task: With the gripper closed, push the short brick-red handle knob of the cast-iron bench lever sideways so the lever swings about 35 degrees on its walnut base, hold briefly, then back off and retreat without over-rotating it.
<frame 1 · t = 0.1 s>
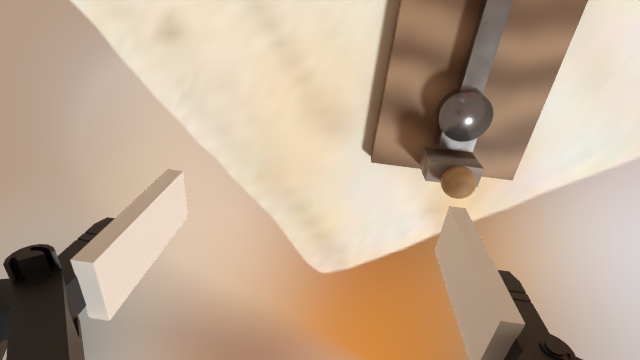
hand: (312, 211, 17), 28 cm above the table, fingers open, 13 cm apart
lever: (487, 63, 34), point 5 cm above the table, hinge at 0.0°
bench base: (469, 64, 39), on the table
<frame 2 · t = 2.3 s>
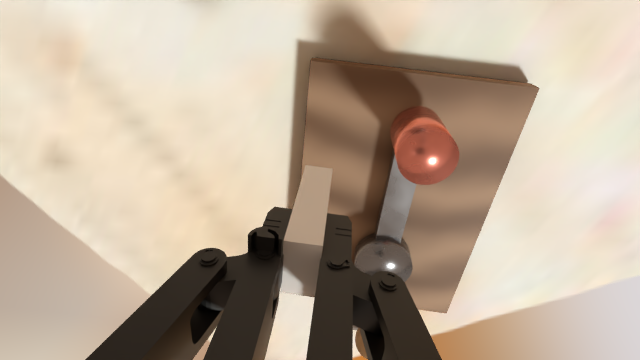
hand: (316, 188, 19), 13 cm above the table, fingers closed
lever: (397, 225, 30), point 5 cm above the table, hinge at 0.0°
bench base: (389, 201, 35), on the table
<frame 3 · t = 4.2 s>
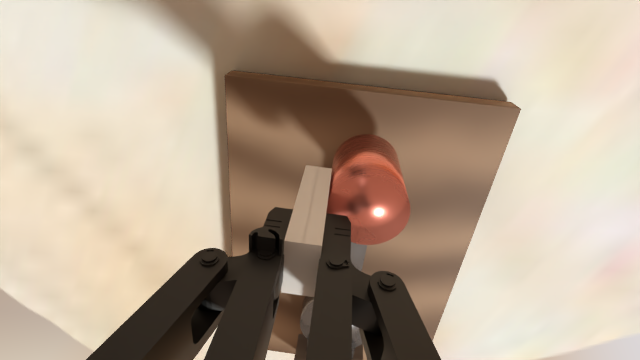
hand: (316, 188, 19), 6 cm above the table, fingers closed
lever: (345, 281, 23), point 5 cm above the table, hinge at 1.1°, touching gripper
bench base: (344, 243, 28), on the table
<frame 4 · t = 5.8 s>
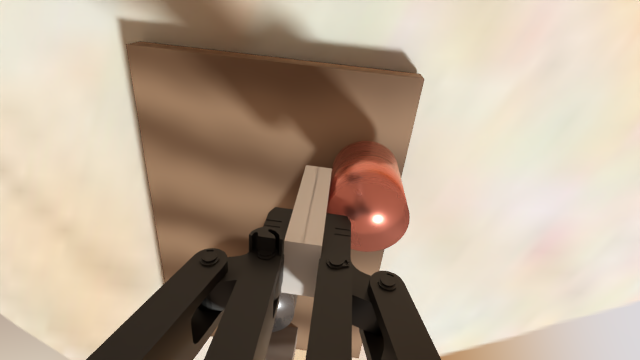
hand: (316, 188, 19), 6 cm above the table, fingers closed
lever: (295, 270, 23), point 5 cm above the table, hinge at 26.9°, touching gripper
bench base: (272, 224, 28), on the table
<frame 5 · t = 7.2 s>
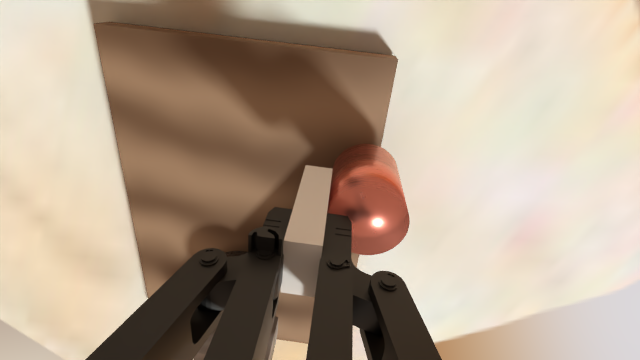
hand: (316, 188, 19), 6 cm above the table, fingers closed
lever: (280, 263, 23), point 5 cm above the table, hinge at 35.3°, touching gripper
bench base: (250, 212, 28), on the table
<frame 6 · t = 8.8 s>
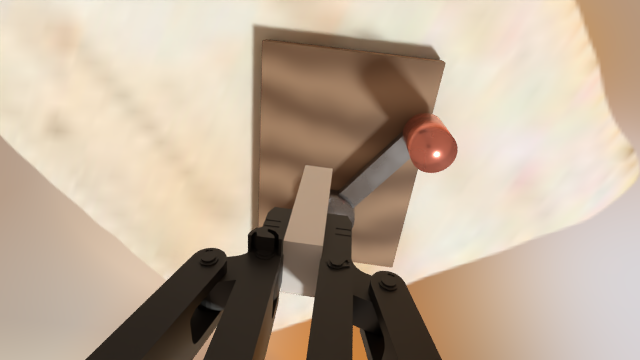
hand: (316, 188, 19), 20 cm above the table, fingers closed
lever: (367, 191, 36), point 5 cm above the table, hinge at 35.3°
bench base: (337, 165, 41), on the table
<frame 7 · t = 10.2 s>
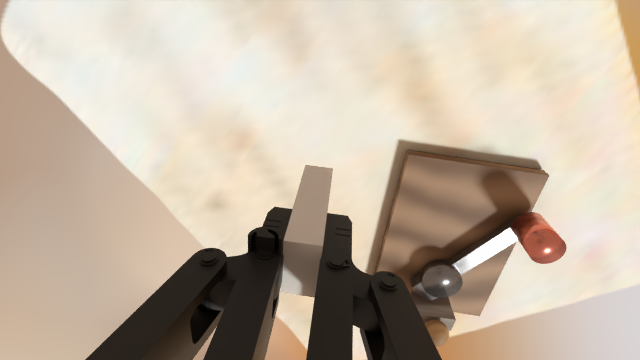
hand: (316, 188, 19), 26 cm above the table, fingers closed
lever: (480, 266, 47), point 5 cm above the table, hinge at 35.3°
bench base: (445, 238, 51), on the table
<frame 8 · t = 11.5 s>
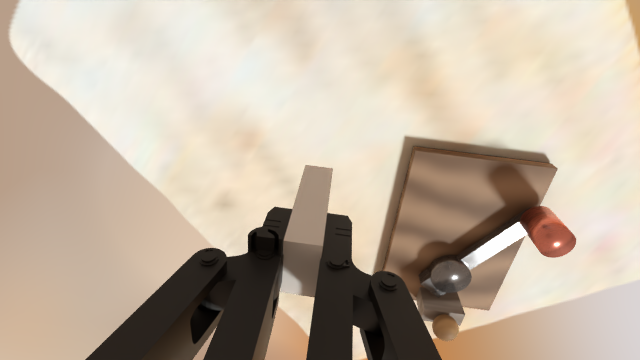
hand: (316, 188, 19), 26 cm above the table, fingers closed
lever: (489, 261, 47), point 5 cm above the table, hinge at 35.3°
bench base: (453, 233, 51), on the table
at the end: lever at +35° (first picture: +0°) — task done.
